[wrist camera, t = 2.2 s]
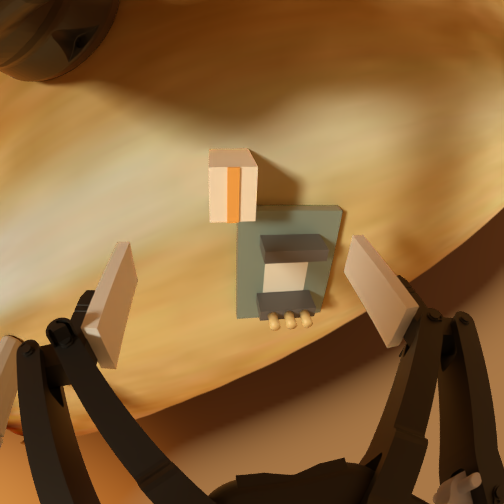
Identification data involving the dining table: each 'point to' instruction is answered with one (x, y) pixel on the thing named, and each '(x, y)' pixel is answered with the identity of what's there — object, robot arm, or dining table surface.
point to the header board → (285, 262)
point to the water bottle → (7, 379)
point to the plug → (232, 185)
